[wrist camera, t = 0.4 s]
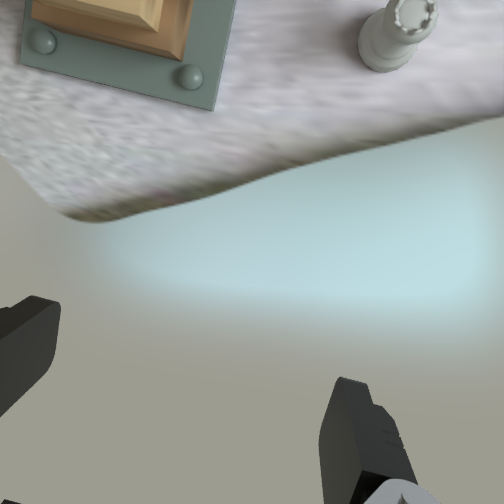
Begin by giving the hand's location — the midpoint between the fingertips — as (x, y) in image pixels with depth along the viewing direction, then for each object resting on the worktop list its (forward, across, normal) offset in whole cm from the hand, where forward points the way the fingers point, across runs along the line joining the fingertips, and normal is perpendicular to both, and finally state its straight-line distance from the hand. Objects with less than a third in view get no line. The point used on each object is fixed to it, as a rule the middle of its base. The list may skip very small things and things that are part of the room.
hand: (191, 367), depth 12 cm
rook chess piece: (+27, -6, -15) cm, 32 cm away
